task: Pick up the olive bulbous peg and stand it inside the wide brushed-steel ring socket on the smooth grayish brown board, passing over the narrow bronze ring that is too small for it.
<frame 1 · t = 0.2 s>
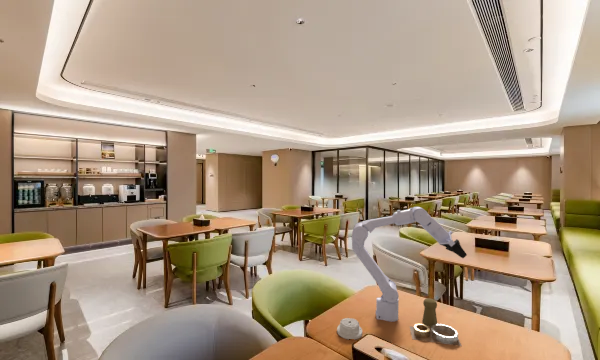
hand: (461, 254, 117), 31 cm above the table, tool tilted 45°, fingers open, 7 cm apart
olive bulbous peg: (429, 325, 120), on the table
narrow bronze ring: (421, 333, 112), resting on smooth grayish brown board
wide steel ring: (444, 336, 110), resting on smooth grayish brown board
smooth grayish brown board: (434, 338, 111), on the table
mechanical component: (349, 333, 115), on the table
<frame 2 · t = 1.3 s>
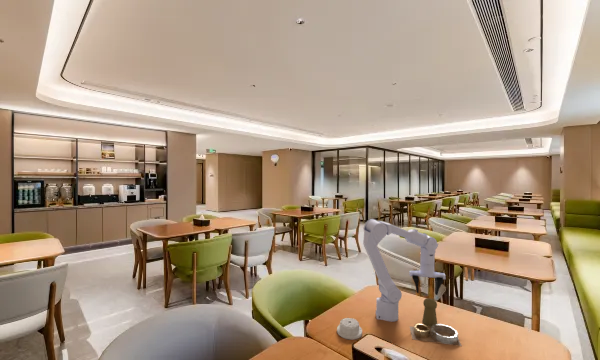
hand: (426, 293, 127), 10 cm above the table, tool pointing down, fingers open, 7 cm apart
nothing on the table moved.
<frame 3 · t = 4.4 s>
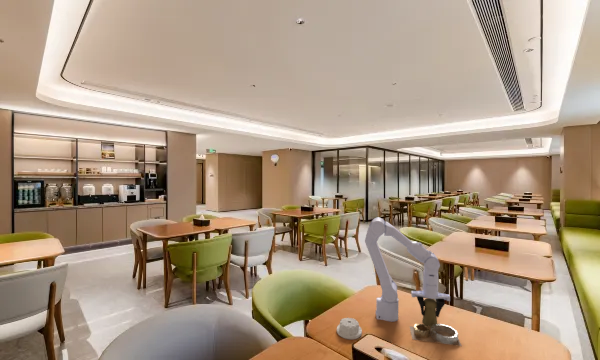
hand: (429, 315, 119), 4 cm above the table, tool pointing down, fingers closed on olive bulbous peg, 5 cm apart
olive bulbous peg: (429, 325, 120), on the table, touching gripper
everything else where it was.
when the fingers open (7 cm above the table, at t = 8.1 s): olive bulbous peg stays where it is, resting on smooth grayish brown board.
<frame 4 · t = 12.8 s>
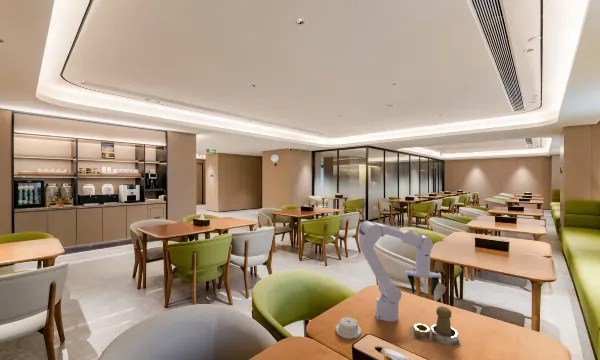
hand: (422, 293, 126), 10 cm above the table, tool pointing down, fingers open, 7 cm apart
olive bulbous peg: (443, 336, 111), point 1 cm above the table, touching smooth grayish brown board
everything else where it was.
at the end: olive bulbous peg 0.5 cm off-centre on the wide steel ring, point 0.0 cm above the wide steel ring's base; olive bulbous peg tilted 0°; the gripper is holding nothing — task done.
